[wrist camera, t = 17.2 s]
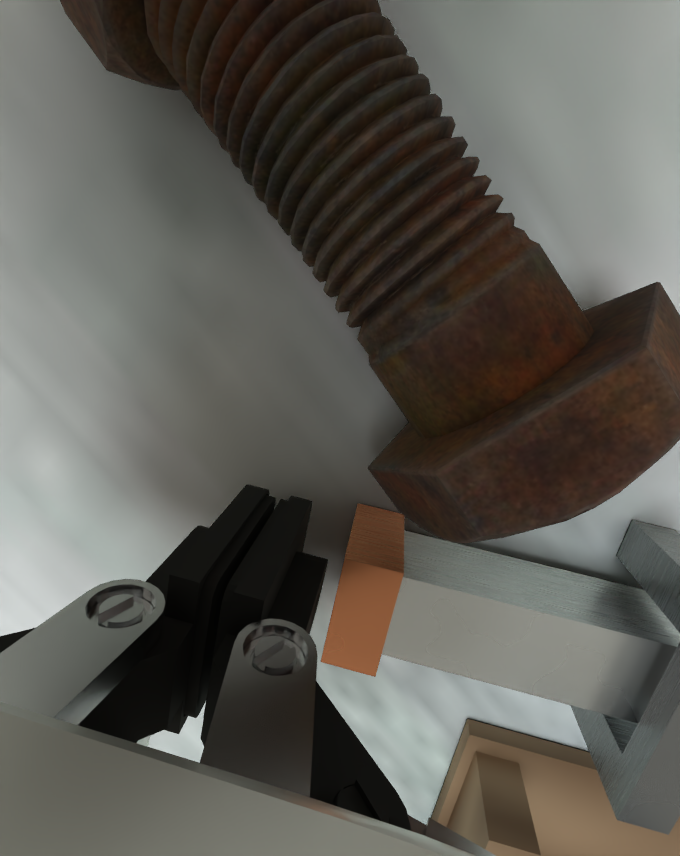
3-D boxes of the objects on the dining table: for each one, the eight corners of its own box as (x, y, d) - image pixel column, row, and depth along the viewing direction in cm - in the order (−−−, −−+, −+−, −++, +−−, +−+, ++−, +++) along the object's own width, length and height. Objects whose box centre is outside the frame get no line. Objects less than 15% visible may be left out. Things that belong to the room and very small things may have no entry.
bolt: (167, -155, 10) (531, 393, 12) (-55, -82, 9) (385, 519, 11) (105, -899, 5) (817, 336, 6) (-510, -983, 3) (575, 590, 5)
